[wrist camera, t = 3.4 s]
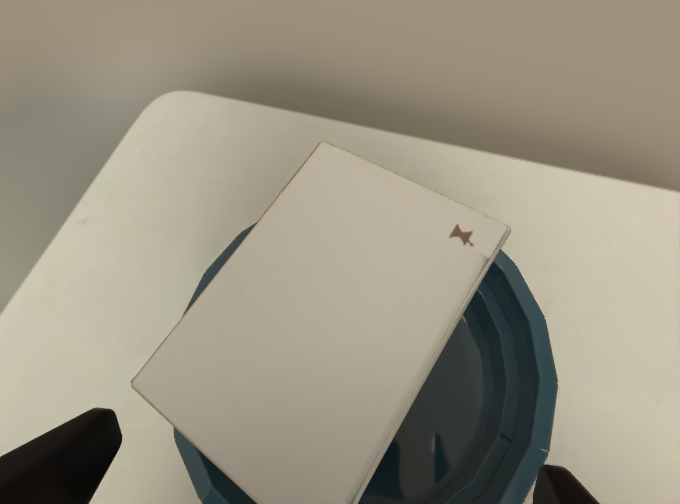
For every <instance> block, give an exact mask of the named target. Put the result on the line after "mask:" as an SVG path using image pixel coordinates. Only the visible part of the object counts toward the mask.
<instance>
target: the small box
mask: <svg viewBox="0 0 680 504" xmlns="http://www.w3.org/2000/svg"><path fill="white" fill-rule="evenodd" d="M510 232H511V229H510V227H509V226H508V225H505V224H503V223H501V222H499V221H497V220H495V219H493V218H490V217H488V216H486V215H484V214H482V213H480V212H477V211H475V210H473V209H471V208H469V207H467V206H465V205H463V204H461V203H458V202H456V201H454V200H452V199H450V198H448V197H445V196H443V195H441V194H439V193H437V192H435V191H432V190H430V189H428V188H426V187H424V186H421V185H419V184H417V183H415V182H413V181H411V180H408V179H406V178H404V177H402V176H400V175H397V174H395V173H393V172H391V171H389V170H387V169H384V168H382V167H380V166H378V165H376V164H374V163H372V162H369V161H367V160H365V159H363V158H361V157H359V156H356V155H354V154H352V153H349V152H347V151H345V150H343V149H340V148H338V147H335V146H333V145H331V144H329V143H327V142H325V141H322V142H320V143H319V144H318V146H317V147H316V148H315V150H314V151H313V152H312V153H311V155H310V156H309V157H308V159H307V160H306V161H305V162H304V164H303V165H302V166H301V167H300V169H299V170H298V171H297V172H296V174H295V175H294V176H293V177H292V179H291V180H290V181H289V182H288V184H287V185H286V186H285V188H284V189H283V190H282V191H281V193H280V194H279V195H278V197H277V198H276V199H275V201H274V202H273V203H272V204H271V205H270V207H269V208H268V209H267V210H266V212H265V213H264V214H263V216H262V217H261V218H260V220H259V221H258V222H257V223H256V225H255V226H254V227H253V229H252V230H251V231H250V232H249V234H248V235H247V236H246V237H245V239H244V240H243V241H242V242H241V244H240V245H239V246H238V248H237V249H236V250H235V251H234V252H233V254H232V255H231V256H230V257H229V259H228V260H227V261H226V263H225V264H224V265H223V266H222V268H221V269H220V270H219V272H218V273H217V274H216V275H215V277H214V278H213V279H212V281H211V282H210V283H209V284H208V286H207V287H206V288H205V289H204V291H203V292H202V293H201V294H200V296H199V297H198V298H197V299H196V301H195V302H194V303H193V304H192V306H191V307H190V308H189V309H188V311H187V312H186V313H185V314H184V316H183V317H182V318H181V320H180V321H179V322H178V324H177V325H176V326H175V327H174V329H173V330H172V331H171V332H170V334H169V335H168V336H167V337H166V339H165V340H164V341H163V342H162V343H161V345H160V346H159V347H158V349H157V350H156V351H155V352H154V354H153V355H152V356H151V357H150V359H149V360H148V361H147V362H146V364H145V365H144V366H143V368H142V369H141V370H140V371H139V373H138V374H137V375H136V376H135V377H134V378H133V380H132V381H131V386H132V388H133V389H134V390H135V391H136V392H137V393H138V394H139V395H141V396H142V397H143V398H144V399H145V400H146V401H147V402H148V403H149V404H150V405H151V406H152V407H153V408H154V409H156V410H157V411H158V412H159V413H160V414H161V415H162V416H163V417H164V418H165V419H166V420H167V421H168V422H169V423H171V424H172V425H173V426H174V427H175V428H176V429H177V430H178V431H179V432H180V433H181V434H182V435H183V436H184V437H186V438H187V439H188V440H189V441H190V442H191V443H192V444H193V445H194V446H195V447H196V448H197V449H199V450H200V451H201V452H202V453H203V454H204V455H205V456H206V457H207V458H208V459H209V460H210V461H211V462H213V463H214V464H215V465H216V466H217V467H218V468H219V469H220V470H221V471H222V472H223V473H224V474H226V475H227V476H228V477H229V478H230V479H231V480H232V481H233V482H234V483H235V484H236V485H237V486H239V487H240V488H241V489H242V490H243V491H244V492H245V493H246V494H247V495H248V496H249V497H250V498H251V499H253V500H254V501H255V502H256V503H257V504H358V502H359V500H360V498H361V496H362V494H363V492H364V490H365V488H366V487H367V485H368V483H369V481H370V479H371V478H372V476H373V474H374V472H375V470H376V468H377V467H378V465H379V463H380V461H381V459H382V457H383V456H384V454H385V452H386V450H387V448H388V447H389V445H390V443H391V441H392V439H393V438H394V436H395V434H396V432H397V430H398V429H399V427H400V425H401V423H402V421H403V420H404V418H405V416H406V414H407V412H408V411H409V409H410V407H411V405H412V404H413V402H414V400H415V398H416V396H417V395H418V393H419V391H420V389H421V387H422V386H423V384H424V382H425V380H426V378H427V377H428V375H429V373H430V371H431V369H432V368H433V366H434V364H435V362H436V361H437V359H438V357H439V355H440V354H441V352H442V350H443V348H444V346H445V345H446V343H447V341H448V339H449V338H450V336H451V334H452V332H453V331H454V329H455V327H456V325H457V324H458V322H459V320H460V318H461V317H462V315H463V313H464V311H465V309H466V308H467V306H468V304H469V302H470V301H471V299H472V297H473V295H474V294H475V292H476V290H477V288H478V287H479V285H480V283H481V281H482V279H483V278H484V276H485V274H486V272H487V271H488V269H489V267H490V265H491V264H492V262H493V260H494V259H495V257H496V255H497V254H498V252H499V250H500V249H501V247H502V246H503V244H504V242H505V241H506V239H507V238H508V236H509V234H510Z"/></svg>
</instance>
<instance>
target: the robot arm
mask: <svg viewBox="0 0 680 504" xmlns="http://www.w3.org/2000/svg"><path fill="white" fill-rule="evenodd" d="M121 443H122V434H121V430H120V427H119V424H118V420H117V417H116V414H115V412H114V411H113V410H111V409H105V408H93V409H91V410H89V411H87V412H85V413H83V414H81V415H79V416H77V417H75V418H73V419H72V420H70V421H68V422H66V423H64V424H62V425H60V426H58V427H56V428H54V429H52V430H51V431H49V432H47V433H45V434H43V435H41V436H39V437H37V438H35V439H33V440H31V441H30V442H28V443H26V444H24V445H22V446H20V447H18V448H16V449H14V450H12V451H11V452H9V453H7V454H5V455H3V456H1V457H0V504H89V502H90V500H91V499H92V497H93V495H94V493H95V491H96V490H97V488H98V486H99V484H100V482H101V481H102V479H103V477H104V475H105V473H106V472H107V470H108V468H109V466H110V464H111V463H112V461H113V459H114V457H115V455H116V454H117V452H118V450H119V448H120V446H121ZM533 504H600V503H599V502H598V501H597V500H596V499H595V498H594V497H593V496H592V495H591V494H590V493H589V492H588V491H587V490H586V488H585V487H584V486H583V485H582V484H581V483H580V482H579V481H578V480H577V479H576V478H575V477H574V476H573V475H572V473H571V472H570V471H569V470H567V469H566V468H564V467H561V466H554V465H546V464H545V465H542V466H541V467H540V469H539V472H538V476H537V480H536V484H535V488H534V492H533Z"/></svg>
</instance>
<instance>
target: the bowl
mask: <svg viewBox="0 0 680 504" xmlns="http://www.w3.org/2000/svg"><path fill="white" fill-rule="evenodd" d="M255 225H256V223H255V224H253V225H252V226H250V227H249V228H247V229H246V230H244V231H243V232H241V233H240V234H239V235H238V236H237V237H236V238H235V239H234V240H233V242H232V243H231V244H230V245H229V246H228V247H227V248H226V249H225V250H224V252H223V253H222V254H221V255H220V256H219V257H218V258H217V259H216V260H215V262H214V263H213V264H212V265H211V266H210V267H209V268H208V269H207V270H206V273H204V275H203V277H202V279H201V281H200V283H199V285H198V287H197V289H196V291H195V293H194V295H193V297H192V299H191V301H190V303H189V305H188V307H187V309H186V311H185V313H186V312H187V311H188V309H189V308H190V307H191V306H192V304H193V303H194V302H195V301H196V299H197V298H198V297H199V296H200V294H201V293H202V292H203V291H204V289H205V288H206V287H207V286H208V284H209V283H210V282H211V281H212V279H213V278H214V277H215V275H216V274H217V273H218V272H219V270H220V269H221V268H222V266H223V265H224V264H225V263H226V261H227V260H228V259H229V257H230V256H231V255H232V254H233V252H234V251H235V250H236V249H237V248H238V246H239V245H240V244H241V242H242V241H243V240H244V239H245V237H246V236H247V235H248V234H249V232H250V231H251V230H252V229H253V227H254V226H255ZM185 313H184V314H185ZM183 316H184V315H183ZM183 316H182V317H183ZM544 318H545V317H544V315H543V313H542V311H541V310H540V308H539V306H538V304H537V302H536V300H535V299H534V297H533V295H532V293H531V291H530V289H529V288H528V286H527V284H526V282H525V280H524V279H523V277H522V275H521V273H520V271H519V269H518V268H517V266H516V265H515V263H514V262H513V261H512V260H511V259H510V258H509V257H508V256H507V255H506V254H505V253H504V252H503V251H502V250H501V249H500V250H499V252H498V254H497V255H496V257H495V259H494V260H493V262H492V264H491V265H490V267H489V269H488V271H487V272H486V274H485V276H484V278H483V279H482V281H481V283H480V285H479V287H478V288H477V290H476V292H475V294H474V295H473V297H472V299H471V301H470V302H469V304H468V306H467V308H466V309H465V311H464V313H463V315H462V317H461V318H460V320H459V322H458V324H457V325H456V327H455V329H454V331H453V332H452V334H451V336H450V338H449V339H448V341H447V343H446V345H445V346H444V348H443V350H442V352H441V354H440V355H439V357H438V359H437V361H436V362H435V364H434V366H433V368H432V369H431V371H430V373H429V375H428V377H427V378H426V380H425V382H424V384H423V386H422V387H421V389H420V391H419V393H418V395H417V396H416V398H415V400H414V402H413V404H412V405H411V407H410V409H409V411H408V412H407V414H406V416H405V418H404V420H403V421H402V423H401V425H400V427H399V429H398V430H397V432H396V434H395V436H394V438H393V439H392V441H391V443H390V445H389V447H388V448H387V450H386V452H385V454H384V456H383V457H382V459H381V461H380V463H379V465H378V467H377V468H376V470H375V472H374V474H373V476H372V478H371V479H370V481H369V483H368V485H367V487H366V488H365V490H364V492H363V494H362V496H361V498H360V500H359V502H358V504H523V503H524V501H525V499H526V497H527V495H528V493H529V491H530V489H531V487H532V486H533V484H534V482H535V480H536V478H537V476H538V472H539V469H540V467H541V466H542V465H543V464H544V462H545V461H546V459H547V457H548V453H549V451H550V443H551V435H552V428H553V420H554V413H555V405H556V397H557V390H558V384H557V383H558V380H557V374H556V369H555V364H554V359H553V354H552V349H551V344H550V339H549V334H548V329H547V324H546V320H545V319H544ZM173 427H174V426H173ZM174 438H175V439H176V440H175V442H176V445H177V447H178V449H179V452H180V454H181V457H182V459H183V461H184V464H185V466H186V469H187V471H188V473H189V476H190V478H191V480H192V483H193V485H194V488H195V490H196V492H197V495H198V497H199V499H200V500H202V501H201V502H202V504H257V503H256V502H255V501H254V500H253V499H251V498H250V497H249V496H248V495H247V494H246V493H245V492H244V491H243V490H242V489H241V488H240V487H239V486H237V485H236V484H235V483H234V482H233V481H232V480H231V479H230V478H229V477H228V476H227V475H226V474H224V473H223V472H222V471H221V470H220V469H219V468H218V467H217V466H216V465H215V464H214V463H213V462H211V461H210V460H209V459H208V458H207V457H206V456H205V455H204V454H203V453H202V452H201V451H200V450H199V449H197V448H196V447H195V446H194V445H193V444H192V443H191V442H190V441H189V440H188V439H187V438H186V437H184V436H183V435H182V434H181V433H180V432H179V431H178V430H177V429H176V428H175V427H174Z"/></svg>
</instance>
